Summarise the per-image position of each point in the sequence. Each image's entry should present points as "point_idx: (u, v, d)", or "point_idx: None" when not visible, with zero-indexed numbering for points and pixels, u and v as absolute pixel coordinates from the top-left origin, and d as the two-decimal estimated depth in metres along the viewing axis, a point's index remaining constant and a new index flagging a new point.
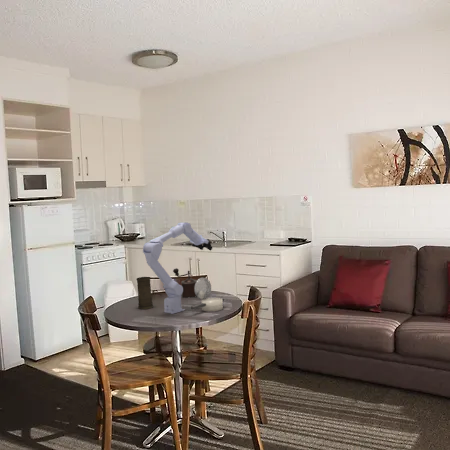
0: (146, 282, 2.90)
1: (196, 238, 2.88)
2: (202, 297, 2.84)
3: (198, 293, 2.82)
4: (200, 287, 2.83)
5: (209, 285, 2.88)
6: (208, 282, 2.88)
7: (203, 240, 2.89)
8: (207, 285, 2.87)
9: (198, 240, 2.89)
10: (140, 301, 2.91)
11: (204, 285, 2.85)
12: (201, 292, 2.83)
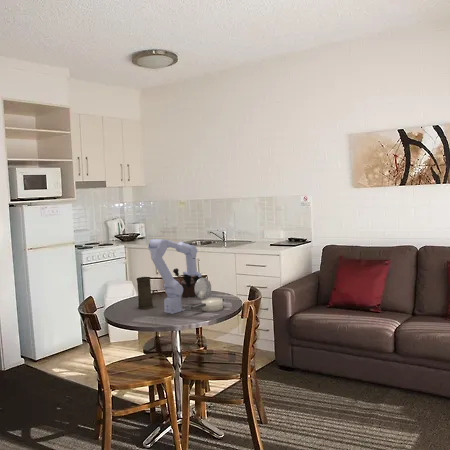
0: (146, 282, 2.90)
1: (193, 267, 2.88)
2: (202, 297, 2.84)
3: (198, 293, 2.82)
4: (200, 287, 2.83)
5: (209, 285, 2.88)
6: (208, 282, 2.88)
7: (197, 273, 2.88)
8: (207, 285, 2.87)
9: (193, 270, 2.88)
10: (140, 301, 2.91)
11: (204, 285, 2.85)
12: (201, 292, 2.83)
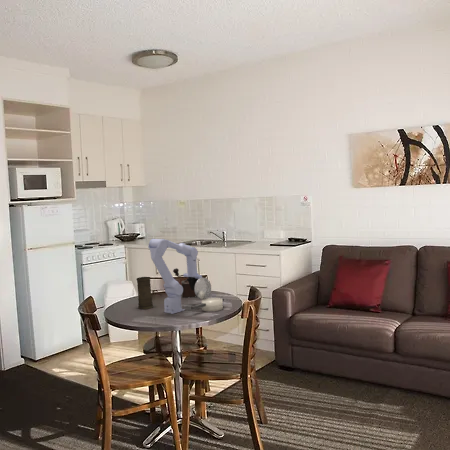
0: (146, 282, 2.90)
1: (193, 269, 2.88)
2: (202, 297, 2.84)
3: (198, 293, 2.82)
4: (200, 287, 2.83)
5: (209, 285, 2.88)
6: (208, 282, 2.88)
7: (197, 275, 2.87)
8: (207, 285, 2.87)
9: (193, 272, 2.88)
10: (140, 301, 2.91)
11: (204, 285, 2.85)
12: (201, 292, 2.83)
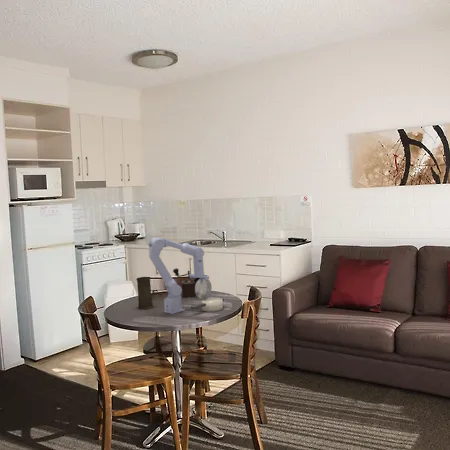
0: (146, 282, 2.90)
1: (200, 269, 2.83)
2: (202, 297, 2.84)
3: (198, 293, 2.82)
4: (200, 287, 2.83)
5: (209, 285, 2.88)
6: (209, 282, 2.87)
7: (204, 275, 2.83)
8: (208, 285, 2.87)
9: (200, 273, 2.84)
10: (140, 301, 2.91)
11: (204, 285, 2.85)
12: (201, 292, 2.83)
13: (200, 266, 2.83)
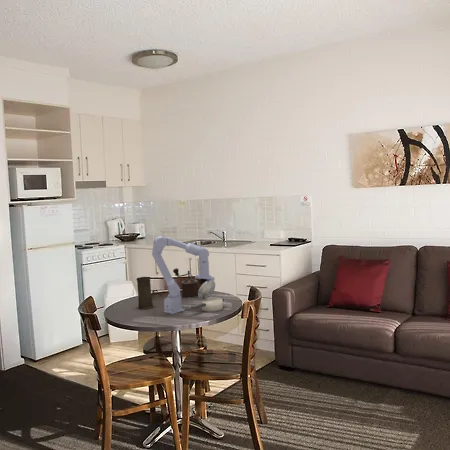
0: (146, 282, 2.90)
1: (205, 270, 2.80)
2: (203, 297, 2.83)
3: (200, 294, 2.80)
4: (204, 289, 2.81)
5: (213, 287, 2.86)
6: (213, 284, 2.85)
7: (210, 276, 2.80)
8: (212, 287, 2.85)
9: (205, 274, 2.80)
10: (140, 301, 2.91)
11: (209, 287, 2.83)
12: (204, 293, 2.82)
13: (204, 267, 2.80)
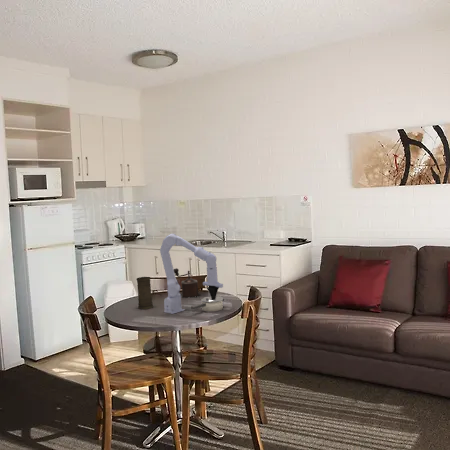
0: (146, 282, 2.90)
1: (214, 277, 2.76)
2: None
3: None
4: None
5: None
6: None
7: (218, 283, 2.75)
8: None
9: (214, 280, 2.76)
10: (140, 301, 2.91)
11: None
12: None
13: (211, 274, 2.76)
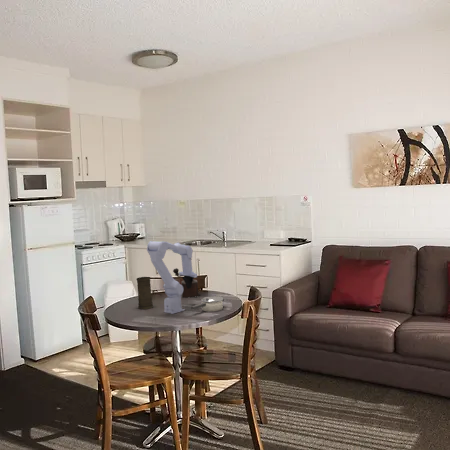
0: (146, 282, 2.90)
1: (188, 267, 2.88)
2: None
3: None
4: None
5: None
6: None
7: (193, 273, 2.87)
8: None
9: (188, 271, 2.88)
10: (140, 301, 2.91)
11: None
12: None
13: (190, 264, 2.88)
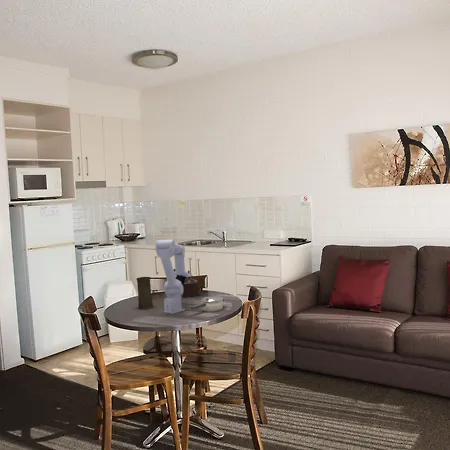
0: (146, 282, 2.90)
1: (181, 267, 2.91)
2: None
3: None
4: None
5: None
6: None
7: (185, 273, 2.90)
8: None
9: (181, 270, 2.91)
10: (140, 301, 2.91)
11: None
12: None
13: None
